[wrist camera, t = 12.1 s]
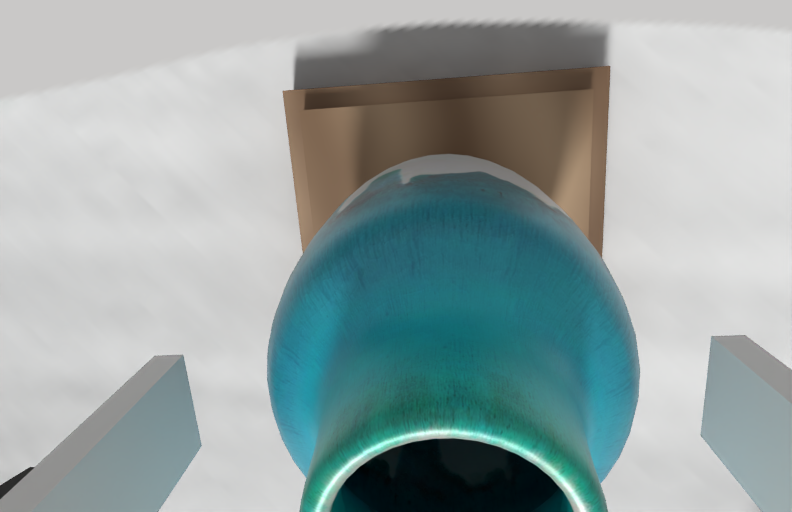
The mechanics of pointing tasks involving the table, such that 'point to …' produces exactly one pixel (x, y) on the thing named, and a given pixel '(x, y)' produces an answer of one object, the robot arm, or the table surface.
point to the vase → (452, 350)
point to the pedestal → (455, 136)
